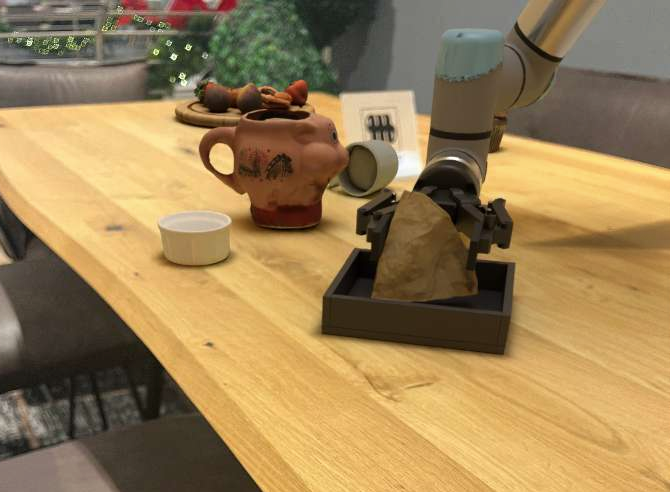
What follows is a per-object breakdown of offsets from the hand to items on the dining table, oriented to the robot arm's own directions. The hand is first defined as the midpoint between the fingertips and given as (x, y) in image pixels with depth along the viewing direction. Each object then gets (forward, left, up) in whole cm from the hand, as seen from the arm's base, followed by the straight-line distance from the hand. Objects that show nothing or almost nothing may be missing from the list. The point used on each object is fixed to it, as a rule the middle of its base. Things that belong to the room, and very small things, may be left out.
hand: (423, 251), depth 71 cm
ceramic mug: (+16, -54, -8) cm, 57 cm away
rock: (0, -5, -6) cm, 8 cm away
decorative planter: (+24, -33, -8) cm, 41 cm away
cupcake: (0, -94, -8) cm, 94 cm away
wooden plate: (+54, -113, -8) cm, 125 cm away
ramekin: (+29, -16, -8) cm, 34 cm away
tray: (0, -5, -8) cm, 9 cm away
